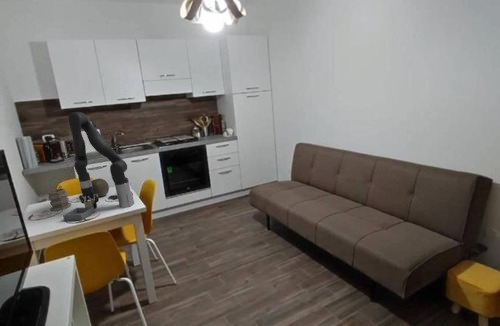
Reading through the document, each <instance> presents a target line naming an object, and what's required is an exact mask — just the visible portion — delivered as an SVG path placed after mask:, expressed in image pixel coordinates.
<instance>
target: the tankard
mask: <svg viewBox="0 0 500 326" xmlns="http://www.w3.org/2000/svg"><path fill="white" fill-rule="evenodd" d="M47 195H48V196H47V197H48V200H50V202H49V205H50V206H51V208H50V211H51V212H60V211H64V210H66V209H68V208H70V207H71V206H72V203H71V202H69V201H70V199H69V197H68V192H67V191H66V188H63V186H62V185H58V188H55V189H52V190H50V191H49V192H48V193H47Z"/></svg>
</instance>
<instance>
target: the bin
mask: <svg viewBox="0 0 500 326" xmlns="http://www.w3.org/2000/svg"><path fill="white" fill-rule="evenodd" d="M93 214H95V209H94V207H85V206H84V207H76V208H74V209H72V210H70V211H68V212H67V213H65V214H64V215H62V216H63V221H64V222H72V221H73V222H75V221H77V222H78V221H79V222H80V221H83V220H85V219H87V218H89V217H90V216H92V215H93Z"/></svg>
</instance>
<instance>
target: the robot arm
mask: <svg viewBox="0 0 500 326" xmlns="http://www.w3.org/2000/svg"><path fill="white" fill-rule="evenodd" d="M68 124H69V127H70V132H71V136H72V141H73V151H74V155H75V158H76V161H75V162H74V165H73V166H74V169H75V172H76V174H77V177H78V181H79V188H80V191H81V194H80V195H79V196H78V197H79V200H80V202H81V204H84V205H85V203H86V202H87V201H89V200H91V201H92V202H93V206H94V208H96V209H97V208H98V204H97V203H99V196H98V194H94V193H93V187H92V182H91V181H92V180H91V176H90V172H89V171H87V167H88V164H89V163H88V156H87V149H86V141H85V140H84V137H83V135H82V130H83V132H85V134H86V136H87V140H88V141H89V144H90V145H91V147H93V149H94V150H95V151H96V152H97V153H98V154H100V155H102V156H104V157H105V158H106V159H108V160H109V162H111V164H110V167H109V170H110V175H111V179H112V181H113V183H114V186H115V191H116V195H117V196H116V197H117V201H118V205H119V208H121V209H124V208H125V209H126V208H130V207H132V206H133V205H134V204H135V200H134V196H133V191H131V187H130V186H131V185H130V183H129V178H128V177H127V176H126V175H125V173H126V171H127V170H128V164H127V162H126V161H125V160H124V159H123V158H122V157H121V156H120V155H119V154H118V153H117V152H116V151H115V150H114V149H113V147H112V146H111V145H110V144H109V142H108V141H107V140H106V139H105V138H104V137H103V135H102V134H101V133H100V132H99V131H98V129H97V128H96V127H95V126H94V125H93V123H92V122H91V120H90V119H89V117H88V116H87V115H86V114H85V113H84V112H81V111H77V112H74V111H73V112H71V113H70V114H69V115H68Z"/></svg>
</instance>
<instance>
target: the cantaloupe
mask: <svg viewBox="0 0 500 326" xmlns="http://www.w3.org/2000/svg"><path fill="white" fill-rule="evenodd" d="M91 182H92V187H93V193H94V194H98V197H104V196H106V195H107V194H108V193H109V192H110V187H109V183H108V182H107V180H105V179H103V178H95V179H92V180H91Z"/></svg>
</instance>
